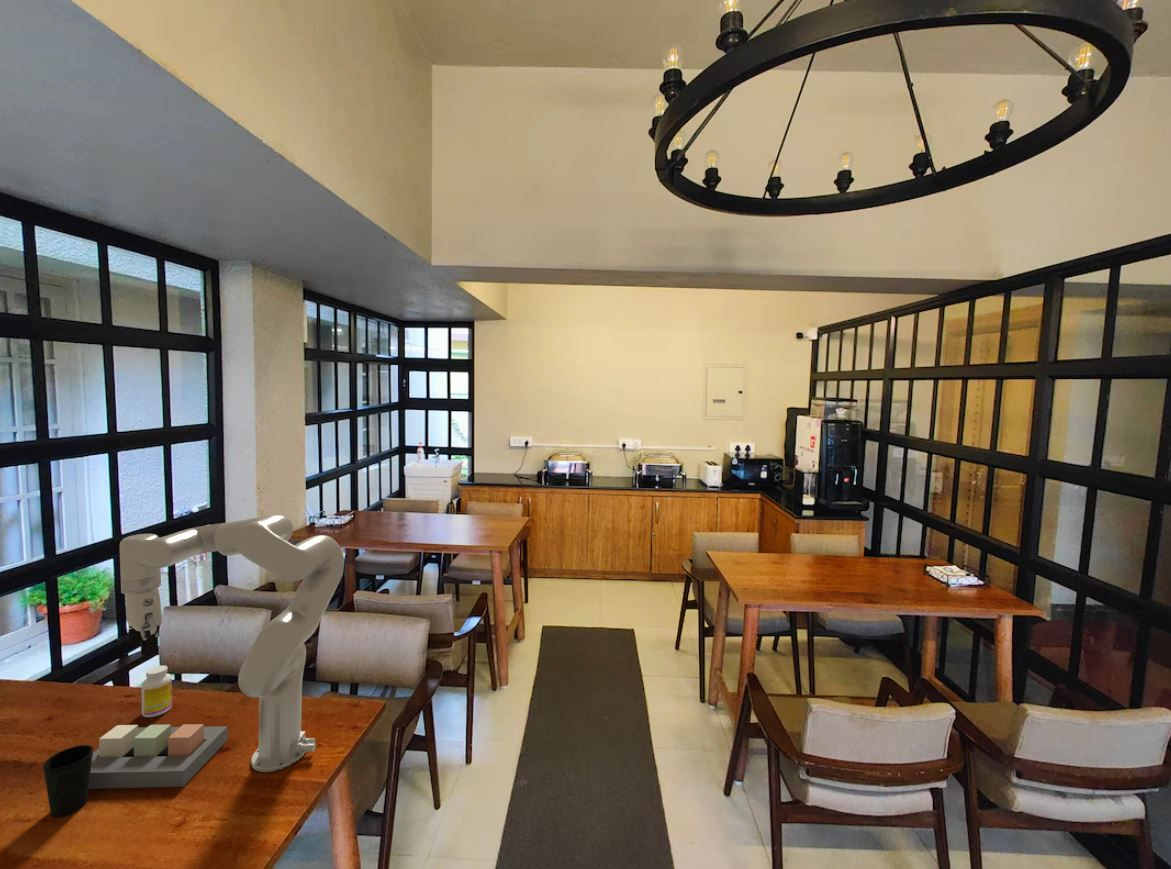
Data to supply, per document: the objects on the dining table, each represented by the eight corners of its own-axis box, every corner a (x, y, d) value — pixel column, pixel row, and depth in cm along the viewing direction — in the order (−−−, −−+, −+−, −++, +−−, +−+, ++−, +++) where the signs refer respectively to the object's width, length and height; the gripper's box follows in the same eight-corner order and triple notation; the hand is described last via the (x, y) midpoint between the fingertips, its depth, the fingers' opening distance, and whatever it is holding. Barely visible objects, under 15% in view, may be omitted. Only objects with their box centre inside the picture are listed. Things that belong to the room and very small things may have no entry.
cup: (92, 788, 113) (91, 739, 112) (95, 806, 108) (95, 755, 107) (43, 808, 107) (42, 757, 106) (44, 828, 102) (43, 775, 101)
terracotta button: (203, 742, 124) (203, 724, 124) (189, 756, 119) (189, 737, 119) (183, 742, 124) (183, 724, 124) (168, 756, 119) (168, 737, 119)
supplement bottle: (175, 709, 142) (175, 668, 141) (146, 721, 136) (146, 678, 135) (166, 701, 145) (167, 661, 144) (138, 712, 139) (138, 670, 139)
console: (227, 740, 130) (227, 726, 130) (183, 786, 114) (183, 770, 114) (125, 741, 128) (125, 727, 128) (66, 789, 112) (66, 773, 112)
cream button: (138, 743, 123) (138, 724, 123) (121, 757, 118) (120, 738, 118) (117, 743, 122) (117, 725, 122) (99, 757, 117) (99, 738, 117)
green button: (171, 742, 124) (171, 724, 123) (155, 756, 119) (155, 737, 118) (150, 743, 123) (150, 724, 123) (134, 757, 118) (133, 738, 118)
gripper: (172, 586, 120) (174, 651, 120) (149, 572, 129) (151, 632, 130) (132, 595, 113) (134, 664, 114) (111, 580, 123) (113, 644, 124)
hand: (143, 647), depth 122 cm, fingers open, 9 cm apart
